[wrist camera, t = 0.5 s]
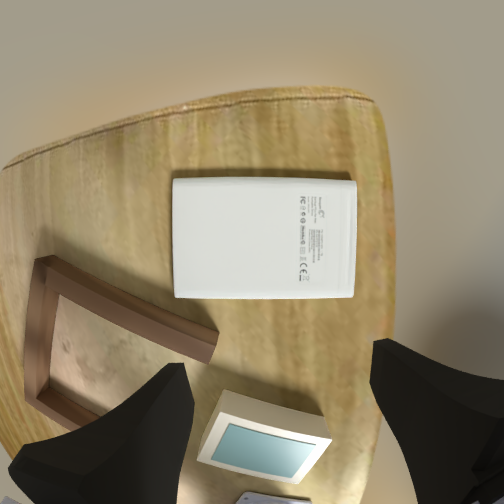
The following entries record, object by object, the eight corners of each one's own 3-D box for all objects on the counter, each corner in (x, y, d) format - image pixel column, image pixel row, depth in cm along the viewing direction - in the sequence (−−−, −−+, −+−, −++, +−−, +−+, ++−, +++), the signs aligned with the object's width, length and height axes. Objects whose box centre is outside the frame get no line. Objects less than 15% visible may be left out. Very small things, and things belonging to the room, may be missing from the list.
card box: (293, 458, 23) (297, 484, 20) (201, 435, 23) (196, 461, 19) (323, 415, 23) (332, 440, 19) (224, 386, 22) (219, 412, 19)
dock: (168, 457, 23) (162, 474, 21) (37, 389, 22) (24, 400, 20) (219, 332, 21) (215, 346, 19) (52, 254, 21) (34, 258, 18)
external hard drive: (178, 180, 21) (350, 182, 21) (179, 293, 22) (347, 293, 22) (172, 177, 19) (357, 180, 19) (174, 299, 20) (354, 299, 20)
